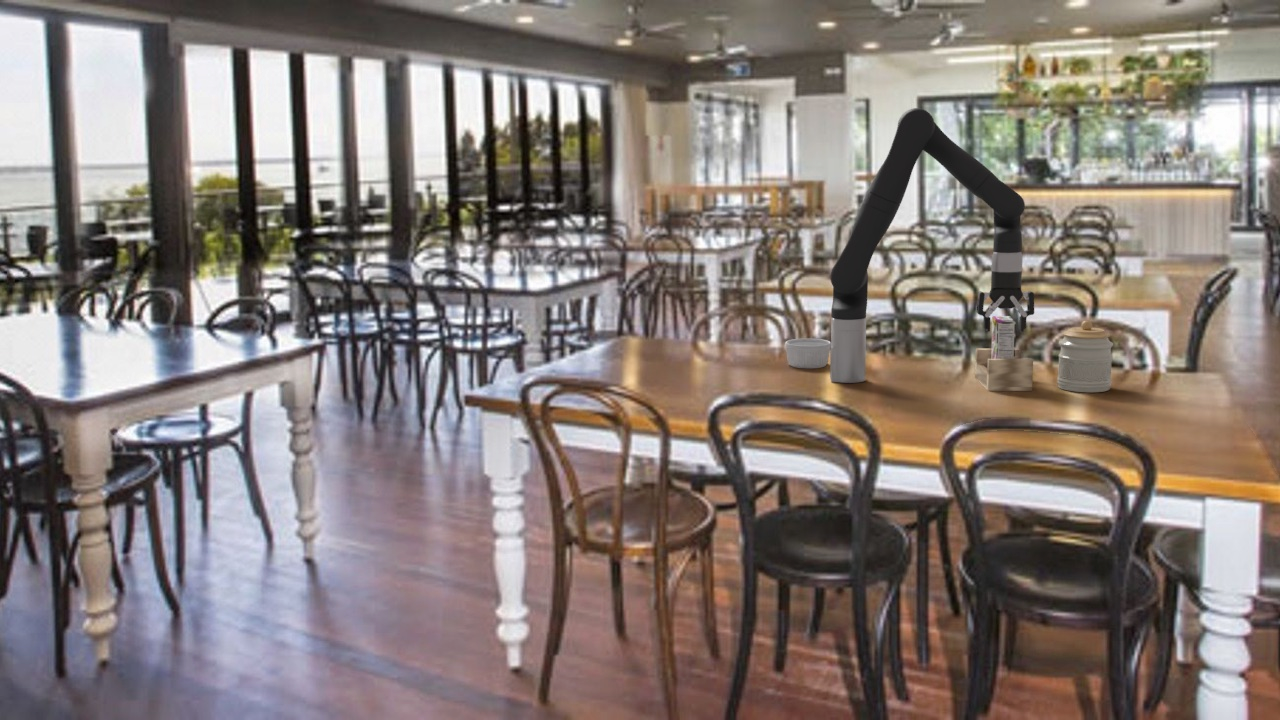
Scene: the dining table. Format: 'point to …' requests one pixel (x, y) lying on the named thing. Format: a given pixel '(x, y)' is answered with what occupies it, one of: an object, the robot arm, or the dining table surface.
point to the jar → (1085, 359)
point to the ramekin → (807, 352)
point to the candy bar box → (1003, 337)
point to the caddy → (1003, 372)
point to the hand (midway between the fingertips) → (1004, 331)
